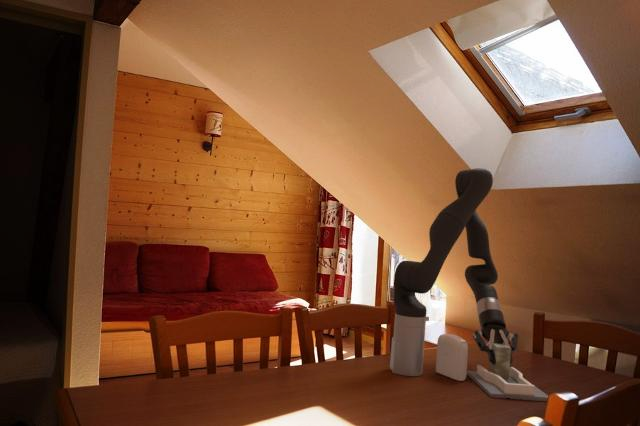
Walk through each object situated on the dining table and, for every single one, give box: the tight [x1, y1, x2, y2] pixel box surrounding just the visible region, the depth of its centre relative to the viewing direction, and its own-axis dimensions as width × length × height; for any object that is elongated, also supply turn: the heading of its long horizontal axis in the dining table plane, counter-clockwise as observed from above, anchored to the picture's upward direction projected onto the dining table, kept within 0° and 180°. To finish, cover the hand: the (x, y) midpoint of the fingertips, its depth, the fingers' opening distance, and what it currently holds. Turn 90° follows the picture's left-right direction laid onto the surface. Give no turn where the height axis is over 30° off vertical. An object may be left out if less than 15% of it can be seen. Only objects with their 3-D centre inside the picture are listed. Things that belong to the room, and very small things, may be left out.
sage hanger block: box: [489, 343, 512, 379], centre depth 156 cm, size 4×5×9 cm
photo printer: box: [435, 333, 469, 382], centre depth 157 cm, size 10×4×12 cm, turn 29°
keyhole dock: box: [466, 364, 549, 402], centre depth 150 cm, size 16×22×4 cm
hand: (501, 363), depth 155 cm, fingers closed on sage hanger block, 4 cm apart
